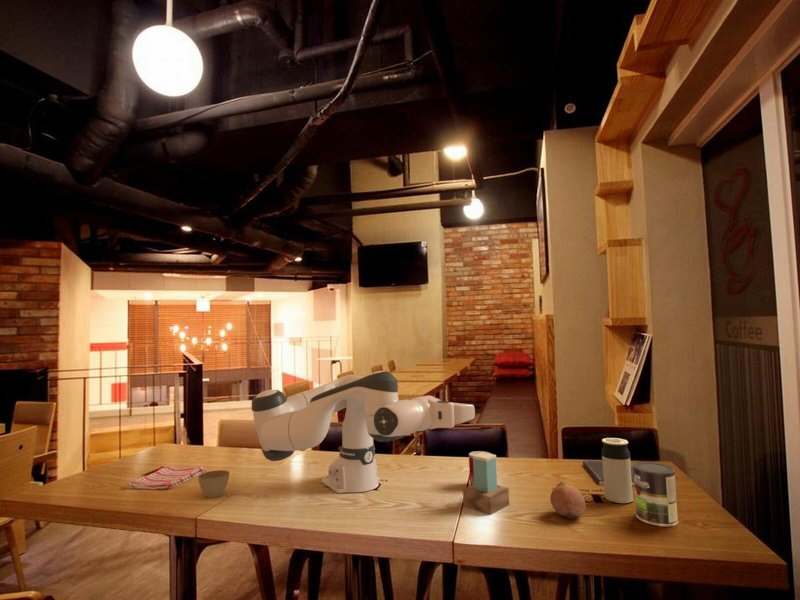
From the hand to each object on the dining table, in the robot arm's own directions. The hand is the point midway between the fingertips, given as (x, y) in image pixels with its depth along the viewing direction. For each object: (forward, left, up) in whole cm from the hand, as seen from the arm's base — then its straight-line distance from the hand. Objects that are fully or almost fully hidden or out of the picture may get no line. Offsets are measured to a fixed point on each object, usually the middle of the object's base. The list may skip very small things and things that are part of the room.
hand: (457, 405), depth 130 cm
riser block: (0, +12, -32) cm, 34 cm away
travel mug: (+28, +43, -32) cm, 61 cm away
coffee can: (+41, +35, -32) cm, 63 cm away
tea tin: (0, +12, -27) cm, 30 cm away
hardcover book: (+18, +66, -33) cm, 76 cm away
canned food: (-11, +25, -32) cm, 42 cm away
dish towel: (-107, -47, -33) cm, 121 cm away
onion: (+22, +21, -32) cm, 44 cm away
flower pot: (-75, -42, -32) cm, 92 cm away
